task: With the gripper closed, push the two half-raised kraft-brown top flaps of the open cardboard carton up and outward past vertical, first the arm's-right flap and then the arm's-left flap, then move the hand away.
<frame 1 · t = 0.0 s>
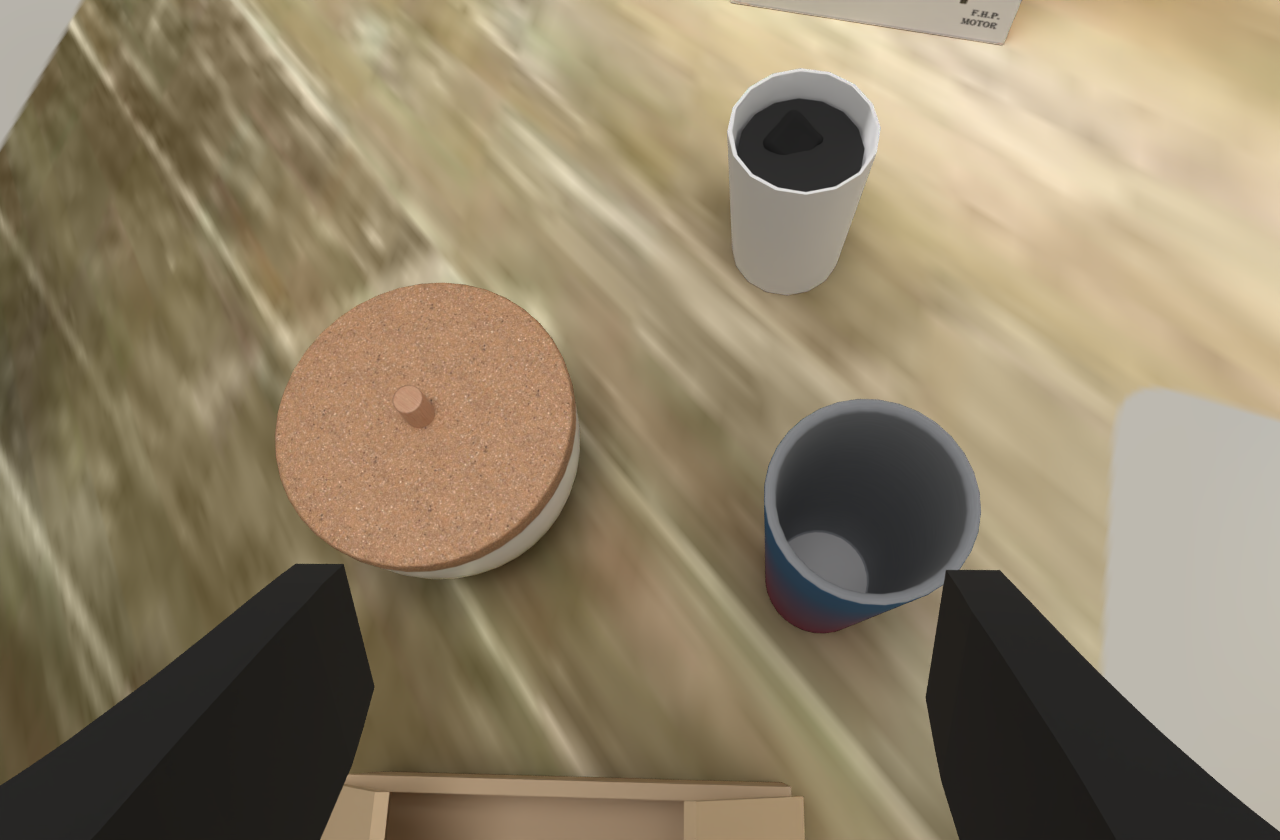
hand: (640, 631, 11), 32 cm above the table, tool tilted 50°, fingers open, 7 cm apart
cup: (818, 580, 43), on the table
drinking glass: (785, 249, 49), on the table
lidded bowl: (476, 478, 46), on the table
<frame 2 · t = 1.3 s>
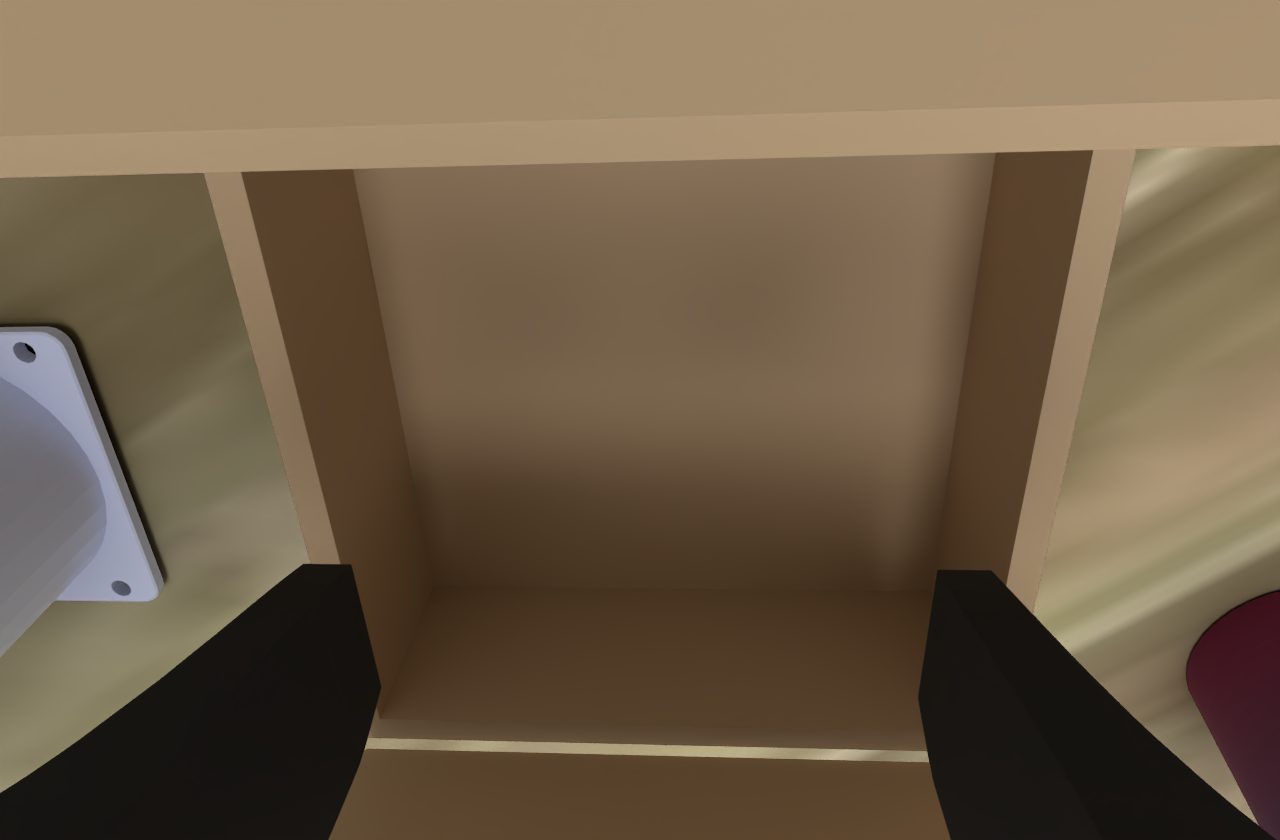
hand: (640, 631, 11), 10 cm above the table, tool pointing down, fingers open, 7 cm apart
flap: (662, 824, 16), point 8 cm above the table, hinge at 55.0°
carton: (669, 271, 20), on the table
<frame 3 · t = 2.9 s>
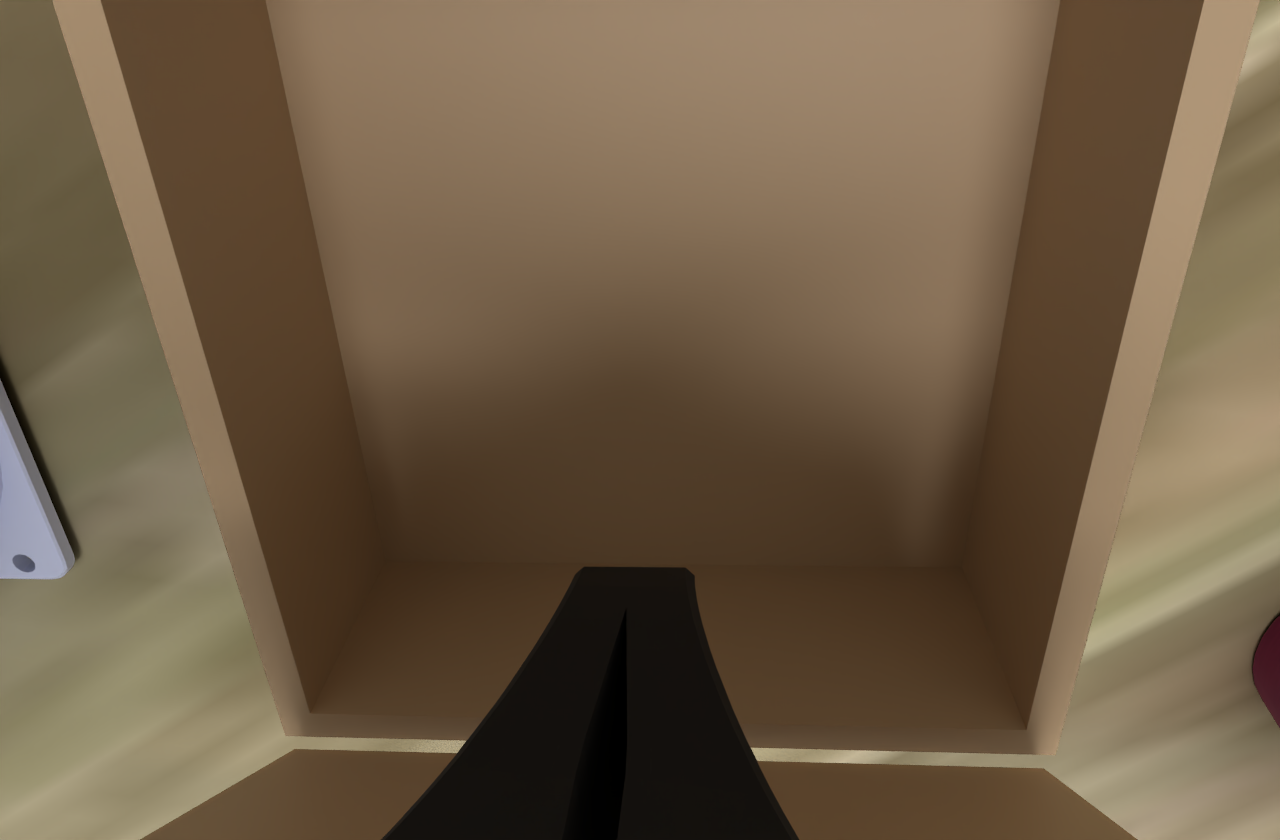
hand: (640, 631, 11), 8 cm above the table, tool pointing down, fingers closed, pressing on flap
carton: (659, 178, 16), on the table
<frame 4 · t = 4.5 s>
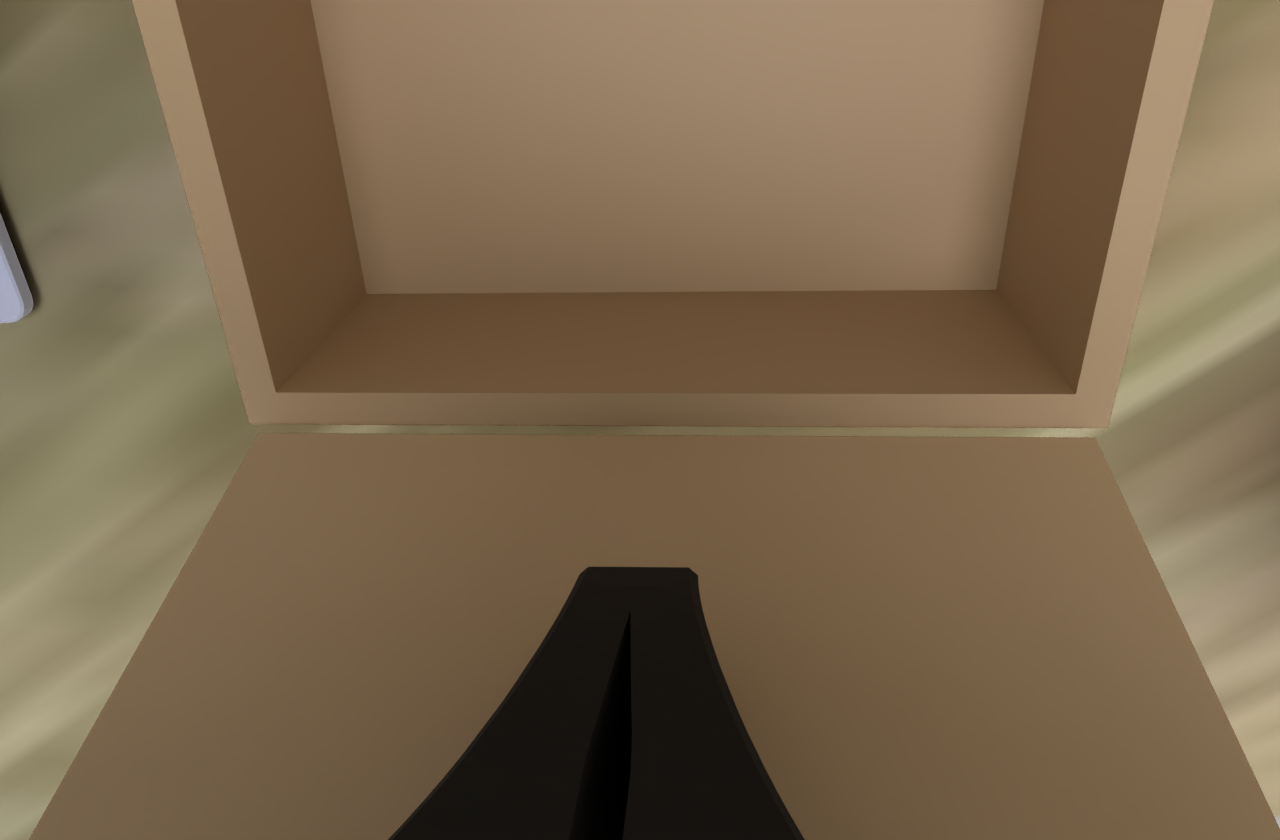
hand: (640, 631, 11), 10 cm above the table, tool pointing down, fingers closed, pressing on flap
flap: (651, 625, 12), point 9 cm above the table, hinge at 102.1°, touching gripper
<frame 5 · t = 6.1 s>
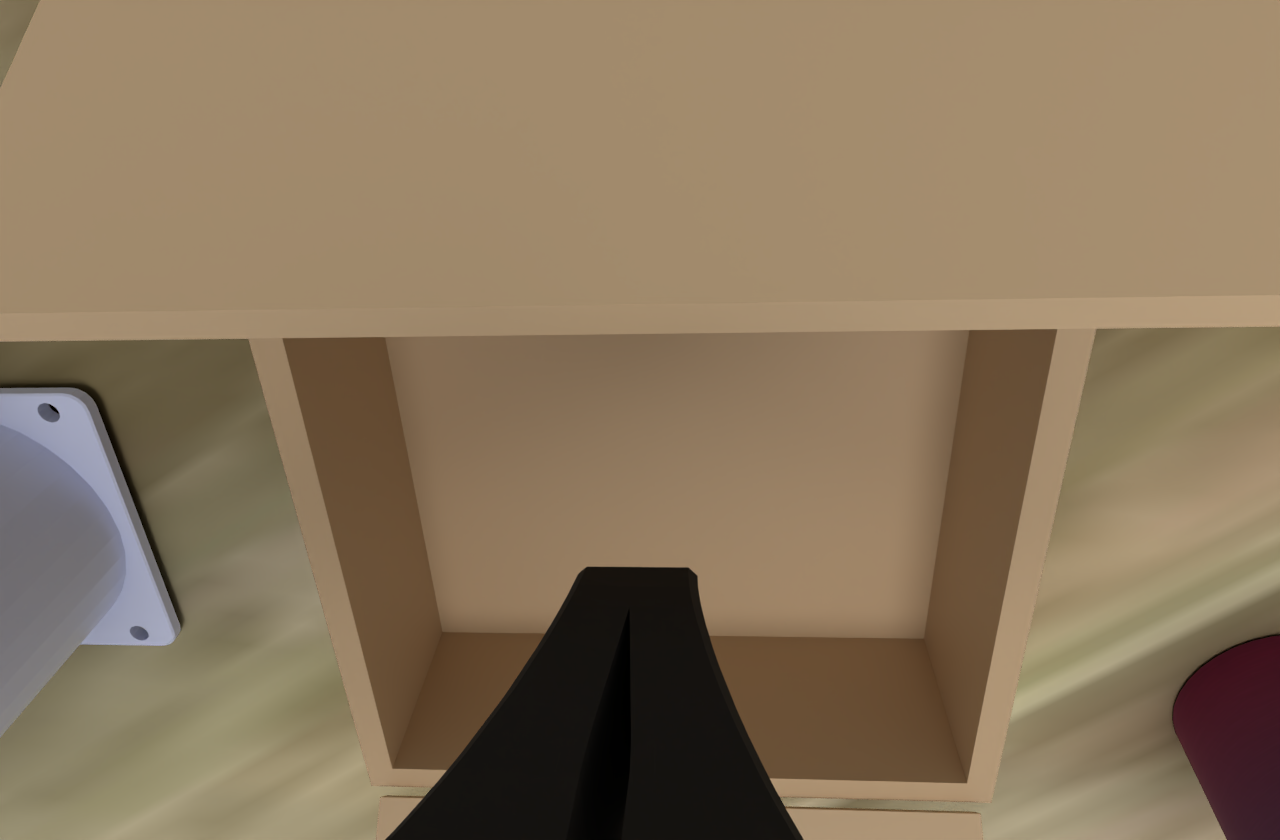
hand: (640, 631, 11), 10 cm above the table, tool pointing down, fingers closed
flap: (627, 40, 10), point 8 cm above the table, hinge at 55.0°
cup: (1266, 697, 25), on the table
carton: (671, 338, 20), on the table
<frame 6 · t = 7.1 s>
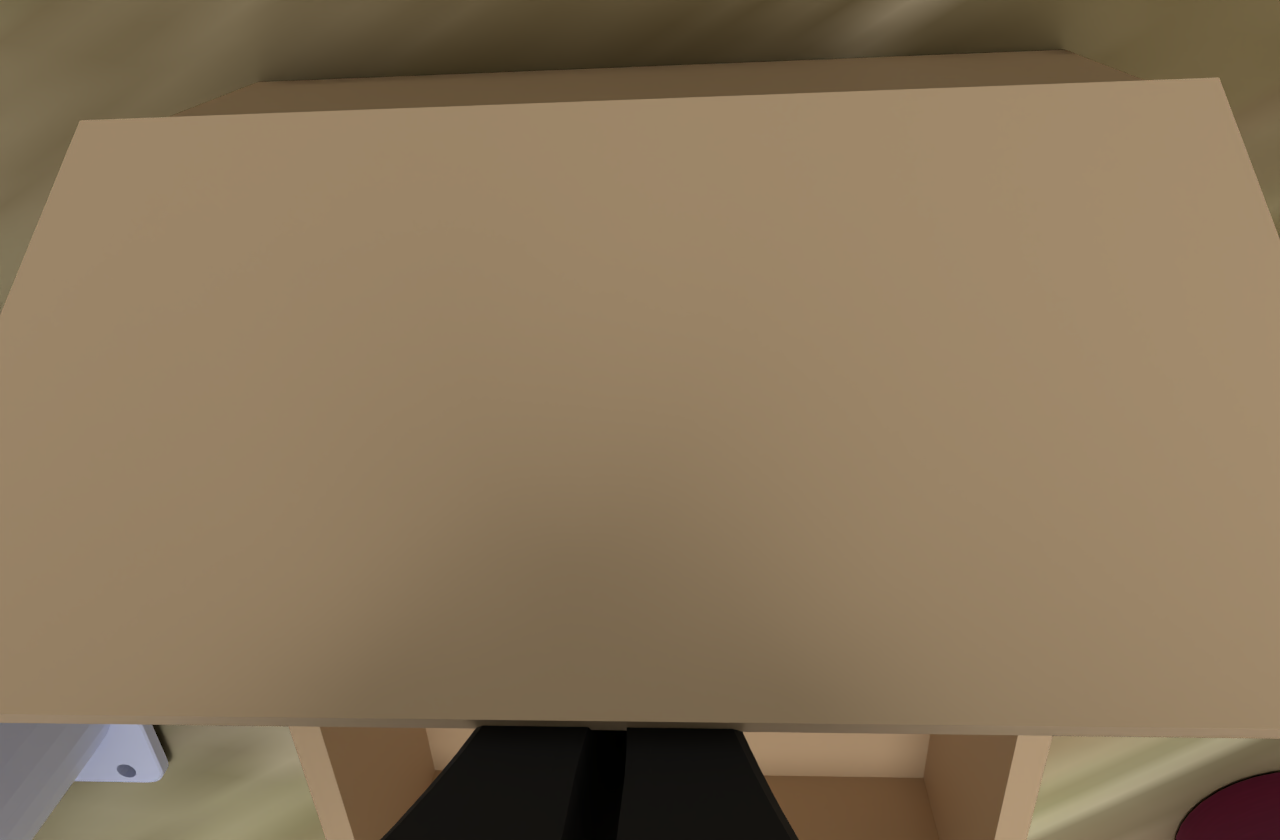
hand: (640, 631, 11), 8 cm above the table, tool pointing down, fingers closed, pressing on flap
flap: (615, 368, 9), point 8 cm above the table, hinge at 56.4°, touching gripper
cup: (1269, 826, 24), on the table
carton: (664, 497, 20), on the table
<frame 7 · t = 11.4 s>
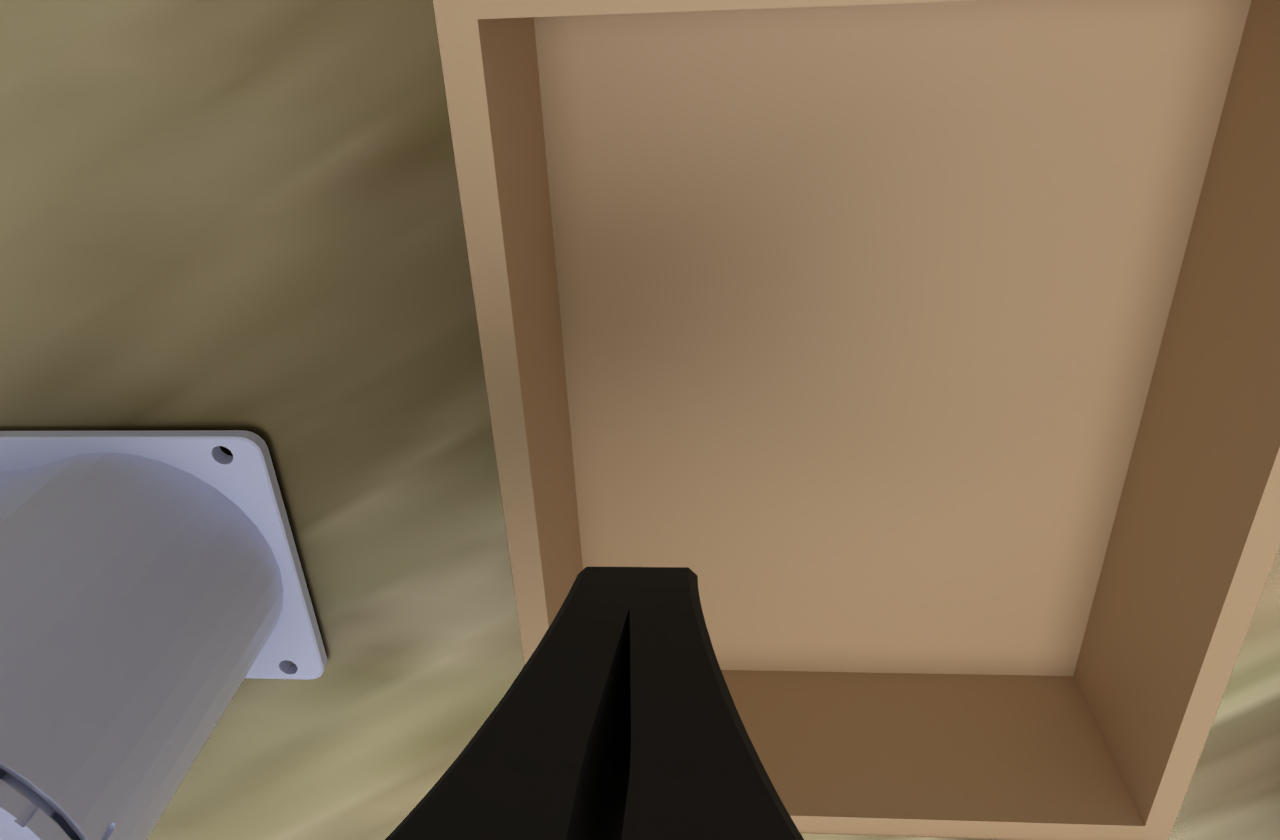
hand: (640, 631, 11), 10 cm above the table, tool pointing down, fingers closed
carton: (847, 385, 21), on the table
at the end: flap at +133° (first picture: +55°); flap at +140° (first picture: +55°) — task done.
